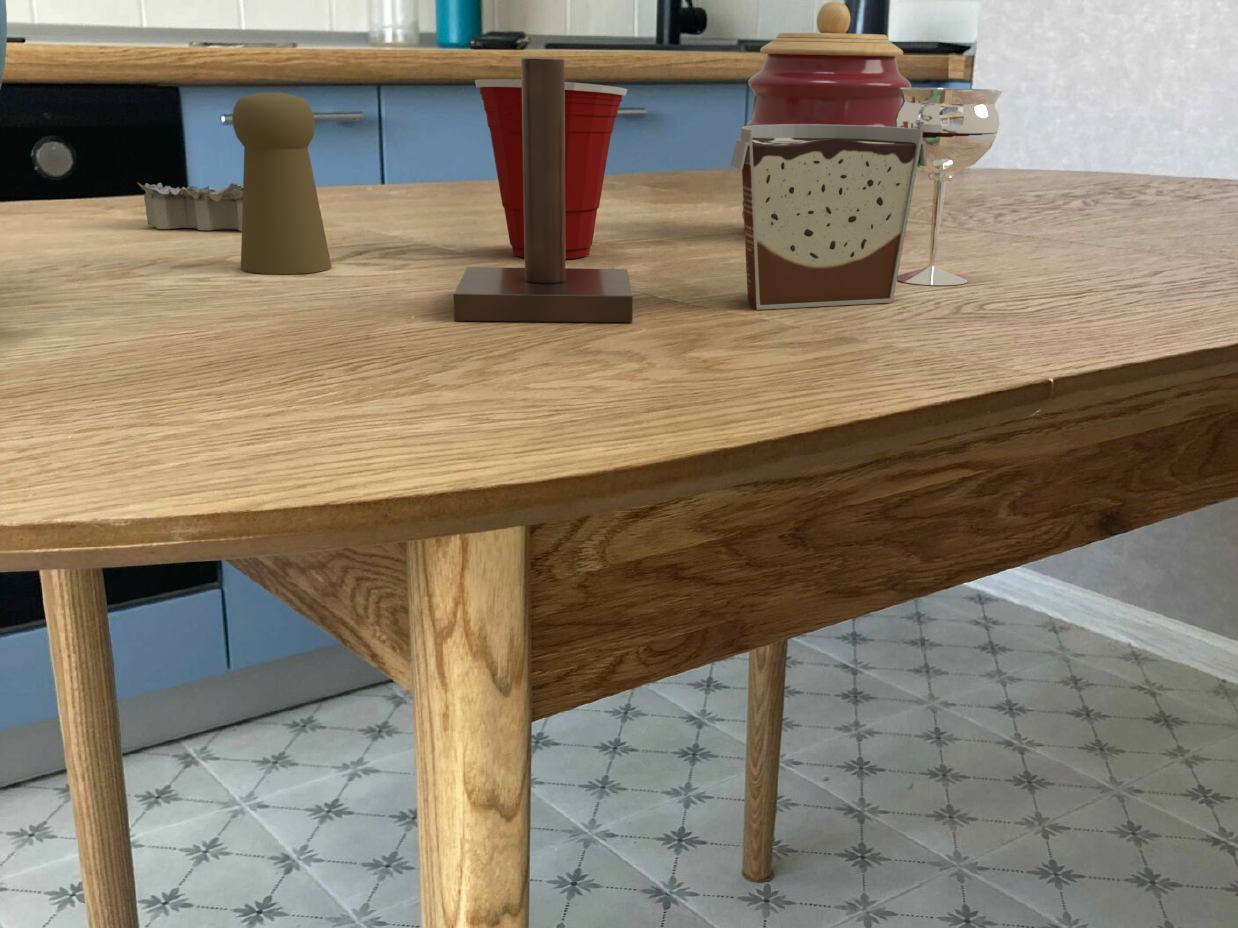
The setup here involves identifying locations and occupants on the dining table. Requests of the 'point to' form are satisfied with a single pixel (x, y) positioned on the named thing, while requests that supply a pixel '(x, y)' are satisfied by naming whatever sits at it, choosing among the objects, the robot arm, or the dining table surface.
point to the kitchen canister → (828, 77)
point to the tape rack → (543, 230)
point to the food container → (825, 211)
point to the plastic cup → (584, 155)
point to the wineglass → (947, 149)
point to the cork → (279, 186)
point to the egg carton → (194, 207)
